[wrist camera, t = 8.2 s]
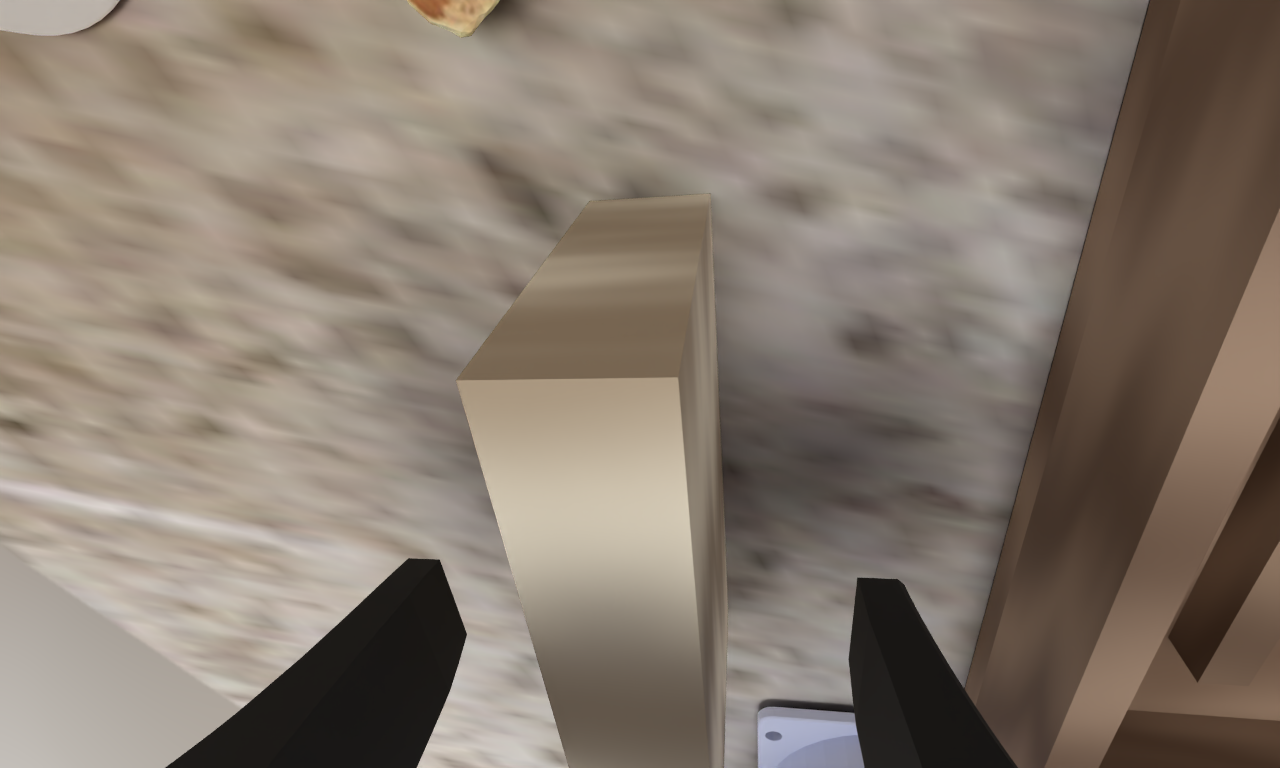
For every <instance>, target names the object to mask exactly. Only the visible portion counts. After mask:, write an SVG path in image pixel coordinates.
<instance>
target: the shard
mask: <svg viewBox="0 0 1280 768" xmlns="http://www.w3.org/2000/svg"><path fill="white" fill-rule="evenodd" d="M406 1H407V2H408V3H409V4H410V5H411V6H412V7H413V8H414V9H415V10H416V11H417V12H418V13H420V14H421V15H422V16H423V17H424V18H425V19H426V20H427V21H428V22H430V23H431V24H433V25H436V26H438V27H441V28H444V29H446V30H448V31H450V32H452V33H454V34H455V35H457V36H459V37H461V38H462V37H467V36H472V34H473V33H474V32H475V30H476V29H477V27H478V26H479V25H480V23H481V22H482V20H483V19H484V18H485V17H486V16H487V15H488V14H489V13H490V12H491V11H492V10H493V9H494V8H495V6H496V5H497V4H498V2H499V1H500V0H406Z"/></svg>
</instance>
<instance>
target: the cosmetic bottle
mask: <svg viewBox="0 0 1280 768" xmlns="http://www.w3.org/2000/svg"><path fill="white" fill-rule="evenodd" d="M119 1H120V0H0V30H3V31H9V32H16V33H23V34H30V35H39V36H57V35H64V34H71V33H74V32H77V31H80V30H83V29H86V28H88V27H90V26H92V25H93V24H95V23H97V22H99V21H100V20H102V19H103V18H104V17H105V16H106V15H107V14H108V13H109V12H111V11H112V10H113V9H114V7H115V6H116V5H117V3H118V2H119Z"/></svg>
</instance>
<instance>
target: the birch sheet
mask: <svg viewBox="0 0 1280 768" xmlns="http://www.w3.org/2000/svg"><path fill="white" fill-rule="evenodd" d="M456 383H457V386H458V389H459V393H460V396H461V400H462V403H463V407H464V410H465V413H466V417H467V420H468V424H469V427H470V431H471V434H472V437H473V441H474V444H475V448H476V451H477V454H478V458H479V461H480V465H481V468H482V472H483V475H484V478H485V482H486V485H487V489H488V492H489V496H490V499H491V502H492V506H493V509H494V513H495V516H496V520H497V523H498V526H499V530H500V533H501V537H502V540H503V544H504V547H505V550H506V554H507V557H508V561H509V564H510V567H511V571H512V574H513V578H514V581H515V585H516V588H517V591H518V595H519V598H520V602H521V605H522V609H523V612H524V615H525V619H526V622H527V626H528V629H529V633H530V636H531V639H532V643H533V646H534V650H535V653H536V657H537V660H538V663H539V667H540V670H541V674H542V677H543V680H544V684H545V687H546V691H547V694H548V698H549V701H550V704H551V708H552V711H553V715H554V718H555V722H556V725H557V728H558V732H559V735H560V739H561V742H562V746H563V749H564V752H565V756H566V759H567V763H568V766H569V768H724V744H725V709H726V674H727V639H728V591H727V567H726V544H725V521H724V498H723V474H722V451H721V428H720V404H719V381H718V358H717V334H716V311H715V288H714V264H713V241H712V218H711V195H710V194H695V195H679V196H663V197H647V198H631V199H615V200H599V201H589V203H588V204H587V205H586V207H585V208H584V209H583V211H582V212H581V213H580V215H579V216H578V217H577V219H576V220H575V221H574V223H573V224H572V225H571V227H570V228H569V229H568V231H567V232H566V233H565V235H564V236H563V237H562V239H561V240H560V242H559V243H558V244H557V246H556V247H555V248H554V250H553V251H552V252H551V254H550V255H549V256H548V258H547V259H546V260H545V262H544V263H543V264H542V266H541V267H540V268H539V270H538V271H537V272H536V274H535V275H534V276H533V278H532V279H531V280H530V282H529V283H528V284H527V286H526V287H525V288H524V290H523V291H522V292H521V294H520V295H519V297H518V298H517V299H516V301H515V302H514V303H513V305H512V306H511V307H510V309H509V310H508V311H507V313H506V314H505V315H504V317H503V318H502V319H501V321H500V322H499V323H498V325H497V326H496V327H495V329H494V330H493V331H492V333H491V334H490V335H489V337H488V338H487V339H486V341H485V342H484V343H483V345H482V346H481V347H480V349H479V350H478V352H477V353H476V354H475V356H474V357H473V358H472V360H471V361H470V362H469V364H468V365H467V366H466V368H465V369H464V370H463V372H462V373H461V374H460V376H459V377H458V378H457V380H456Z"/></svg>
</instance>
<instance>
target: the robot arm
mask: <svg viewBox="0 0 1280 768" xmlns="http://www.w3.org/2000/svg"><path fill="white" fill-rule="evenodd" d="M466 636H467V633H466V630H465V628H464V625H463V622H462V619H461V617H460V614H459V611H458V609H457V606H456V603H455V600H454V598H453V595H452V592H451V589H450V587H449V584H448V581H447V578H446V576H445V573H444V570H443V568H442V565H441V562H440V560H434V559H410V558H409V559H408V560H406V561H405V562H404V563H403V564H402V565H401V566H400V567H399V568H397V569H396V570H395V571H394V572H393V573H392V574H391V575H390V576H389V577H388V578H387V579H386V580H385V581H383V582H382V583H381V584H380V585H379V586H378V587H377V588H376V589H375V590H374V591H373V592H372V593H371V594H370V595H369V596H368V597H366V598H365V599H364V600H363V601H362V602H361V603H360V604H359V605H358V606H357V607H356V608H355V609H354V610H353V611H352V612H351V613H349V614H348V615H347V616H346V617H345V618H344V619H343V620H342V621H341V622H340V623H339V624H338V625H337V626H335V627H334V628H333V629H332V630H331V631H330V632H329V633H328V634H327V635H326V636H325V637H323V638H322V639H321V640H320V641H319V642H318V643H317V644H316V645H315V646H314V647H313V648H311V649H310V650H309V651H308V652H307V653H306V654H305V655H304V656H303V657H302V658H300V659H299V660H298V661H297V662H296V663H295V664H293V665H292V666H291V667H290V668H289V669H288V670H286V671H285V672H284V673H283V674H282V675H281V676H279V677H278V678H277V679H276V680H275V681H274V682H272V683H271V684H270V685H269V686H268V687H267V688H265V689H264V690H263V691H262V692H261V693H260V694H258V695H257V696H256V697H255V698H254V699H253V700H251V701H250V702H249V703H248V704H247V705H246V706H244V707H243V708H242V709H241V710H240V711H238V712H237V713H236V714H235V715H233V716H232V717H231V718H230V719H229V720H227V721H226V722H225V723H224V724H223V725H221V726H220V727H219V728H217V729H216V730H215V731H213V732H212V733H211V734H210V735H208V736H207V737H206V738H204V739H203V740H202V741H200V742H199V743H198V744H197V745H195V746H194V747H192V748H191V749H190V750H188V751H187V752H186V753H184V754H183V755H182V756H181V757H179V758H178V759H176V760H175V761H174V762H173V763H171V764H170V765H168V766H167V767H166V768H417V766H418V763H419V761H420V759H421V757H422V754H423V752H424V750H425V748H426V745H427V743H428V741H429V739H430V736H431V734H432V732H433V729H434V727H435V725H436V722H437V720H438V718H439V715H440V713H441V711H442V709H443V706H444V704H445V701H446V699H447V697H448V694H449V692H450V689H451V686H452V683H453V680H454V676H455V673H456V670H457V667H458V664H459V660H460V657H461V653H462V650H463V646H464V643H465V639H466ZM849 667H850V676H851V686H852V696H853V705H854V713H849V712H836V711H823V710H811V709H798V708H785V707H766V708H763V709H762V710H760V711H759V712H758V768H1018V767H1017V765H1016V764H1015V763H1014V761H1013V760H1012V759H1011V757H1010V756H1009V754H1008V753H1007V752H1006V750H1005V749H1004V747H1003V746H1002V745H1001V743H1000V742H999V740H998V739H997V737H996V736H995V734H994V733H993V732H992V730H991V729H990V727H989V726H988V724H987V723H986V721H985V720H984V718H983V717H982V715H981V714H980V712H979V711H978V709H977V708H976V706H975V705H974V703H973V702H972V700H971V699H970V697H969V695H968V694H967V692H966V691H965V689H964V688H963V686H962V685H961V683H960V682H959V680H958V679H957V677H956V675H955V674H954V672H953V671H952V669H951V667H950V666H949V664H948V663H947V661H946V659H945V658H944V656H943V654H942V653H941V651H940V649H939V648H938V646H937V644H936V643H935V641H934V639H933V638H932V636H931V634H930V632H929V631H928V629H927V627H926V625H925V624H924V622H923V620H922V618H921V616H920V614H919V613H918V611H917V609H916V607H915V605H914V603H913V601H912V599H911V598H910V596H909V594H908V592H907V590H906V587H905V585H904V584H903V583H901V582H900V581H899V580H898V579H878V578H857V587H856V596H855V606H854V615H853V624H852V634H851V643H850V652H849Z"/></svg>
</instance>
